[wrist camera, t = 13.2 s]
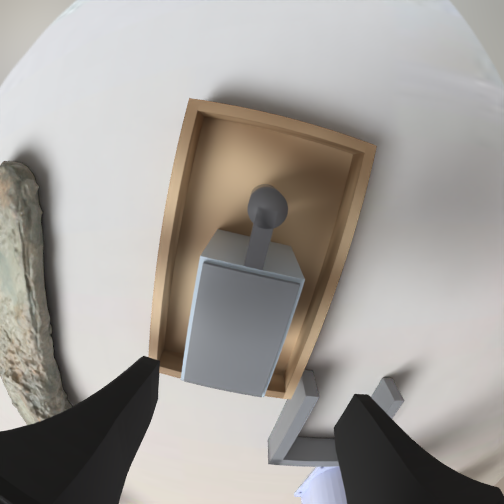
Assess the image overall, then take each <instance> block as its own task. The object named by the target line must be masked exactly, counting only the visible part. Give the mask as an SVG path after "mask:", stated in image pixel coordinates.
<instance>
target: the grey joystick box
mask: <svg viewBox="0 0 504 504" xmlns="http://www.w3.org/2000/svg"><path fill="white" fill-rule="evenodd" d="M287 214H288V204H287V201H286V199H285V198H284V196H283V195H282V194H281V193H280V192H279V191H278V190H277V189H276V188H275V187H273V186H272V185H269V184H261V185H258V186H256V187H255V188H254V189H253V191H252V192H251V195H250V199H249V203H248V215H249V218H250V220H251V221H252V222H253V227H252V231H251V235H250V236H245V235H241V234H237V233H232V232H228V231H224V230H219V229H217V231H216V232H215V234H214V235H213V237H212V238H211V240H210V241H209V243H208V245H207V246H206V248H205V249H204V251H203V252H202V254H201V255H200V260H199V265H198V271H197V276H196V282H195V288H194V293H193V299H192V305H191V312H190V318H189V324H188V331H187V337H186V344H185V351H184V358H183V366H182V373H181V380H183V381H185V382H189V383H193V384H197V385H201V386H206V387H210V388H215V389H219V390H224V391H229V392H234V393H240V394H245V395H251V396H257V397H264V396H265V393H266V391H267V388H268V385H269V383H270V380H271V377H272V375H273V372H274V369H275V367H276V364H277V361H278V358H279V356H280V353H281V350H282V347H283V345H284V342H285V339H286V336H287V333H288V330H289V327H290V324H291V321H292V318H293V315H294V312H295V309H296V306H297V303H298V300H299V297H300V294H301V291H302V288H303V285H304V282H305V278H304V276H303V274H302V271H301V269H300V266H299V264H298V262H297V259H296V257H295V255H294V252H293V250H292V248H291V246H288V245H284V244H279V243H275V242H271V241H270V240H271V236H272V232H273V229H274V228H276V227H278V226H280V225H281V224H282V223H283V222H284V221H285V219H286V217H287Z"/></svg>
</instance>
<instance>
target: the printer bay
mask: <svg viewBox="0 0 504 504" xmlns="http://www.w3.org/2000/svg"><path fill="white" fill-rule="evenodd" d="M371 398H372V399H373V400H374V401H375V402H376V403H377V404H378V405H379V406H380V407H381V408H382V409H383V410H384V411H385V412H386V413H387V414H388V415H389V417H390V418H391V419H392V418H393V416H394V415H395V413H396V412H397V411H398V409H399V408H400V406H401V405H402V403H403V402H404V399H403V397H402V395H401V393H400V392H399V390H398V388H397V386H396V384H395V383H394V381H393V379H392V378H382V380H381V382H380V383H379V385H378V387H377V388H376V390H375V392H374V393H373V395H372V397H371ZM318 399H319V394H318V390H317V386H316V382H315V378H314V374H313V371H309V370H304V372H303V374H302V376H301V378H300V381H299V383H298V385H297V387H296V390H295V392H294V394H293V396H292V398H291V399H287V401H286V403H285V406H284V408H283V410H282V412H281V414H280V416H279V418H278V420H277V422H276V424H275V427H274V429H273V431H272V433H271V435H270V437H269V439H268V464H273V465H286V466H311V467H333V466H339V463H338V458H337V454H336V448H335V439H333V438H308V437H297V436H298V434H299V433H300V431H301V429H302V427H303V426H304V424H305V422H306V420H307V419H308V417H309V415H310V413H311V412H312V410H313V408H314V406H315V404H316V402H317V400H318Z"/></svg>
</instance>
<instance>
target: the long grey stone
mask: <svg viewBox="0 0 504 504" xmlns="http://www.w3.org/2000/svg"><path fill="white" fill-rule="evenodd" d="M38 189H39V186H38V185H37V183H36V181H35V177H34V175H33V173H32V172H31V171H30V169H29V168H28V167H26V166H25V165H24V164H23V163H18V162H14V161H4V162H3V163H2V164H1V165H0V376H1V378H2V381H3V383H4V385H5V387H6V389H7V391H8V394H9V395H10V398H11V400H12V404H13V405H14V406H15V407H16V408H17V409H18V412H19V413H20V415H21V416H22V418H23V419H24V421H25V422H26V424H27V425H30V424H33V423H36V422H39V421H42V420H45V419H47V418H50V417H52V416H54V415H57V414H59V413H61V412H63V411H65V410H67V409H69V408H71V407H72V405H71V404H70V403H69V401H68V400H67V394H66V393H65V392H64V391H63V387H62V381H61V376H60V372H59V370H58V365H57V363H56V360H55V359H54V355H53V352H54V349H53V341H52V338H51V336H50V335H51V333H52V326H51V325H50V316H49V311H48V309H47V300H46V291H45V281H44V264H43V244H44V241H43V236H42V227H41V216H42V213H43V212H42V210H41V208H40V206H39V197H38Z"/></svg>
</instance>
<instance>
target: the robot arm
mask: <svg viewBox="0 0 504 504" xmlns="http://www.w3.org/2000/svg"><path fill="white" fill-rule="evenodd" d="M159 369H160V361H159V360H156V359H152V358H149V357H146V356H143V357H141V358H140V359H138V360H137V361H136V362H135V363H134V364H133V365H132V366H130V367H129V368H128V369H127V370H126V371H124V372H123V373H122V374H121V375H119V376H118V377H117V378H116V379H114V380H113V381H112V382H110V383H109V384H108V385H106V386H105V387H104V388H102V389H101V390H99V391H98V392H96V393H95V394H93V395H91V396H90V397H88V398H87V399H85V400H84V401H82V402H80V403H78V404H77V405H75V406H73V407H71V408H69V409H67V410H65V411H63V412H61V413H59V414H57V415H54V416H52V417H50V418H47V419H45V420H42V421H39V422H36V423H33V424H30V425H26V426H23V427H19V428H15V429H12V430H7V431H1V432H0V504H119V500H120V496H121V493H122V489H123V486H124V483H125V479H126V476H127V473H128V471H129V468H130V466H131V464H132V461H133V459H134V457H135V455H136V453H137V450H138V448H139V446H140V444H141V442H142V440H143V437H144V435H145V433H146V431H147V429H148V427H149V424H150V422H151V419H152V416H153V413H154V410H155V407H156V403H157V400H158V386H159ZM334 436H335V448H336V454H337V458H338V463H339V466H333V467H316V468H315V470H314V471H313V472H312V473H311V474H310V476H309V477H308V478H307V479H306V480H305V481H304V483H303V484H302V485H301V486H300V487H299V488H298V489H297V491H296V492H295V493H294V496H295V497H301V502H302V504H504V496H503V494H502V492H501V490H500V489H499V488H498V487H494V486H491V485H488V484H484V483H481V482H478V481H476V480H473V479H471V478H469V477H466V476H464V475H462V474H460V473H458V472H456V471H455V470H453V469H451V468H449V467H448V466H446V465H444V464H443V463H441V462H440V461H438V460H437V459H436V458H434V457H433V456H432V455H430V454H429V453H428V452H426V451H425V450H424V449H423V448H421V447H420V446H419V445H418V444H417V443H416V442H415V441H414V440H412V439H411V438H410V437H409V436H408V435H407V434H406V433H405V432H404V431H403V430H402V429H401V428H400V427H399V426H398V425H397V424H396V423H395V422H394V421H393V420H392V419H391V418H390V417H389V415H388V414H387V413H386V412H385V411H384V410H383V409H382V408H381V407H380V406H379V405H378V404H377V403H376V402H375V401H374V400H373V399H372V398H371V397H370V396H369V395H364V394H354V396H353V398H352V399H351V401H350V403H349V404H348V406H347V408H346V409H345V411H344V412H343V414H342V416H341V417H340V419H339V420H338V422H337V424H336V425H335V427H334Z"/></svg>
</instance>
